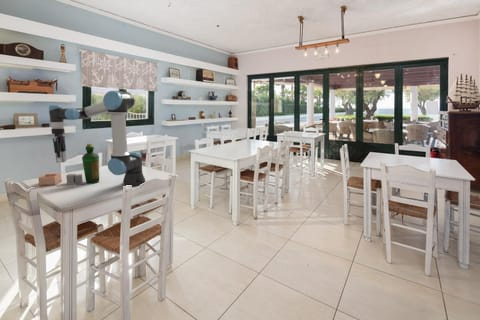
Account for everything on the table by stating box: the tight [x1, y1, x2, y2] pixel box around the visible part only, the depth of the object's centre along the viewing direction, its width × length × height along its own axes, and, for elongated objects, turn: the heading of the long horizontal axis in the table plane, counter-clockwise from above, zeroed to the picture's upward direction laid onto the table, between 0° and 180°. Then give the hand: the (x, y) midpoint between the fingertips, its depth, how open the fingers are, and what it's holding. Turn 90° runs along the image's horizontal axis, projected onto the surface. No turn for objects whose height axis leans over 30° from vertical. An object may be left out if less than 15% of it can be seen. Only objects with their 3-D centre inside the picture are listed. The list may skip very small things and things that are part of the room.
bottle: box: [81, 143, 100, 185], centre depth 196 cm, size 11×11×28 cm
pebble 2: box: [74, 173, 84, 185], centre depth 195 cm, size 4×4×6 cm
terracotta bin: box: [37, 173, 63, 187], centre depth 192 cm, size 10×10×6 cm
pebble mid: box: [65, 173, 76, 185], centre depth 194 cm, size 4×4×6 cm
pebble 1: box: [54, 151, 67, 164], centre depth 190 cm, size 4×4×7 cm
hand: (61, 161), depth 191 cm, fingers closed on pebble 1, 4 cm apart
